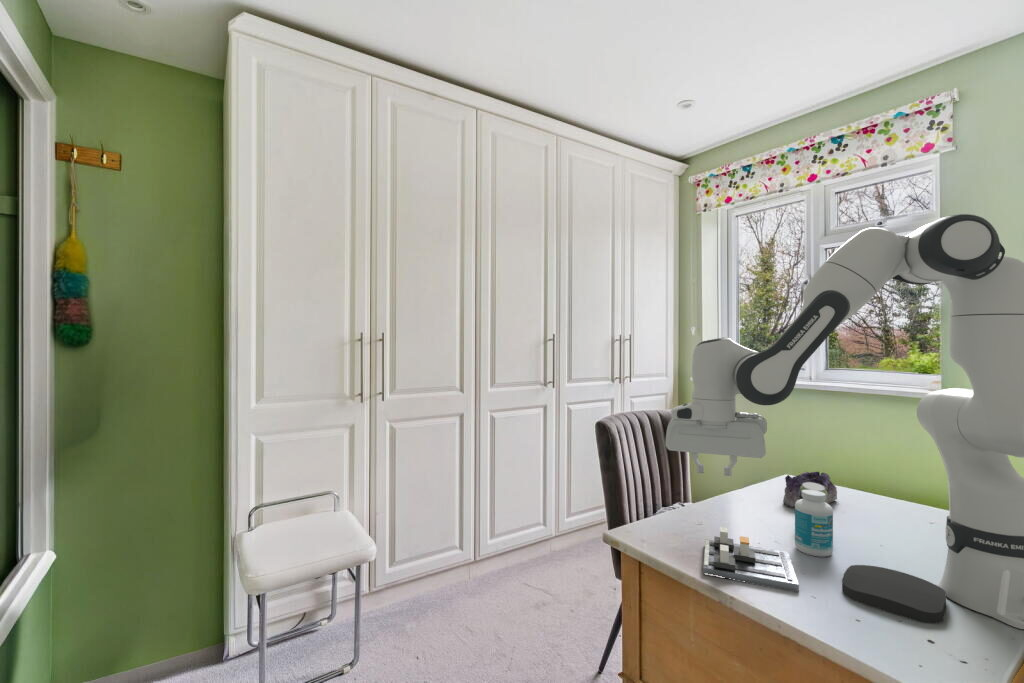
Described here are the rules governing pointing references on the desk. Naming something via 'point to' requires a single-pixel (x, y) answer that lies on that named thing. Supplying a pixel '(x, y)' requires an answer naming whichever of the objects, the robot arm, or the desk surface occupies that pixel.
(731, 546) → the breaker
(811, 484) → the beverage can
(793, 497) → the geode
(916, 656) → the desk surface
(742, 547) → the breaker trip
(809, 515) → the pill bottle
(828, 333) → the robot arm
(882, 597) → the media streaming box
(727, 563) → the breaker
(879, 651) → the desk surface
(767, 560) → the panel
